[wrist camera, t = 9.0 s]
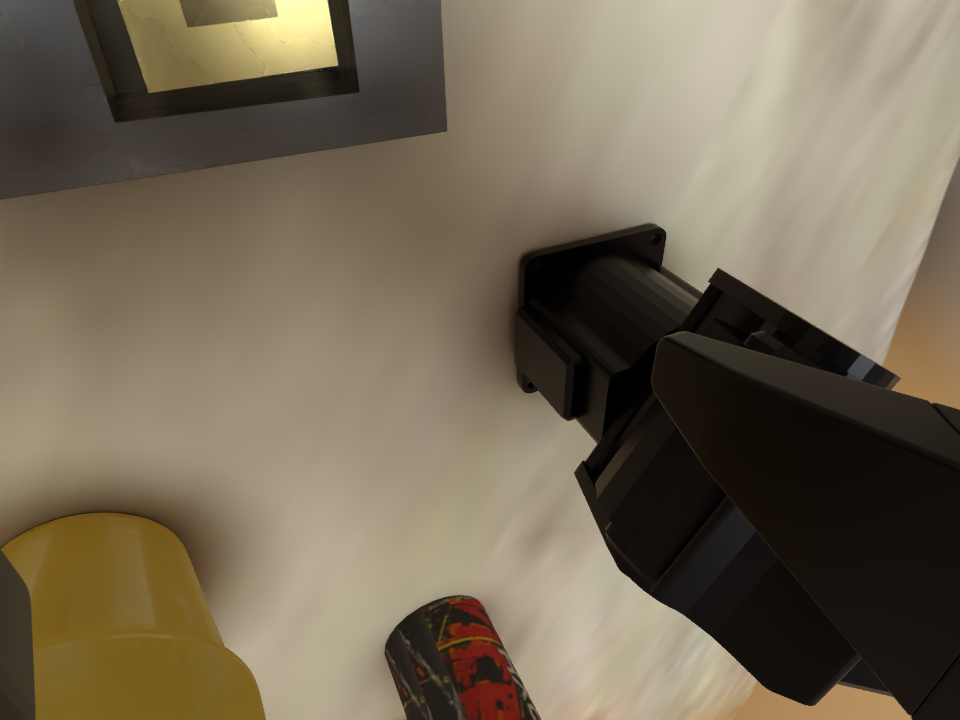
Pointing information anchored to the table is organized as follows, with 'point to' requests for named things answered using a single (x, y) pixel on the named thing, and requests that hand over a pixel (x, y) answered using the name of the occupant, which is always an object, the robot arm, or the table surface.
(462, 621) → the deodorant
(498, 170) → the table surface
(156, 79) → the nut
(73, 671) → the plant pot
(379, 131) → the rail
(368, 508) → the table surface
